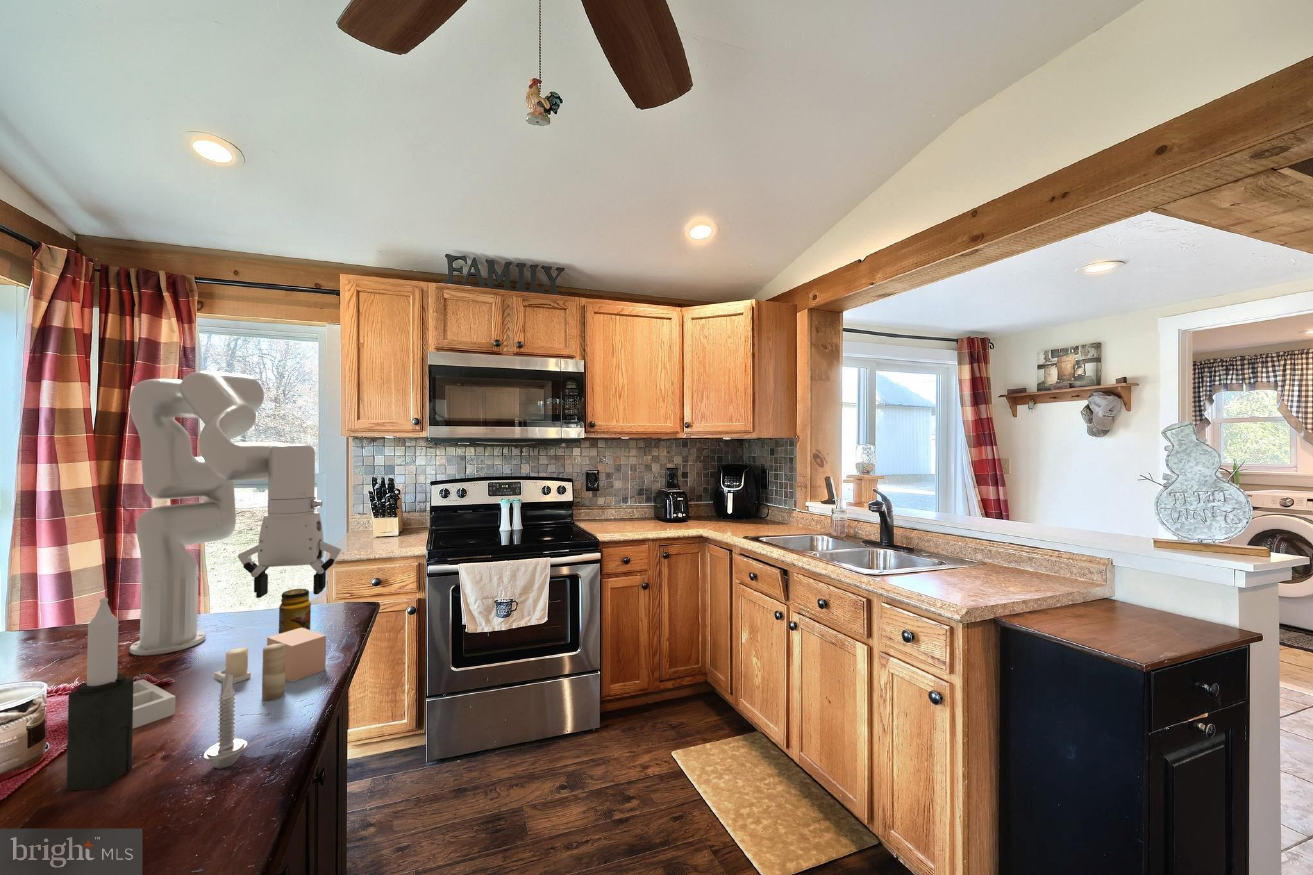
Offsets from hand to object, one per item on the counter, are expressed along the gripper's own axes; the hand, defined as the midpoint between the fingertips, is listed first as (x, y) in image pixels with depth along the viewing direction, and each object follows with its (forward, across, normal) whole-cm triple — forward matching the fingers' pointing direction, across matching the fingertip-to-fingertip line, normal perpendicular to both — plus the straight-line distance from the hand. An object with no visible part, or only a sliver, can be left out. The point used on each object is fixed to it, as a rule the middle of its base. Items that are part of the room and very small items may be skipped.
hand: (290, 594), depth 103 cm
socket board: (+17, +21, +8) cm, 28 cm away
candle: (+17, +13, +28) cm, 35 cm away
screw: (+17, -2, +28) cm, 33 cm away
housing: (+17, 0, -4) cm, 17 cm away
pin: (+17, 0, +6) cm, 18 cm away
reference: (+17, +11, -4) cm, 20 cm away
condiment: (+17, +8, -21) cm, 28 cm away
